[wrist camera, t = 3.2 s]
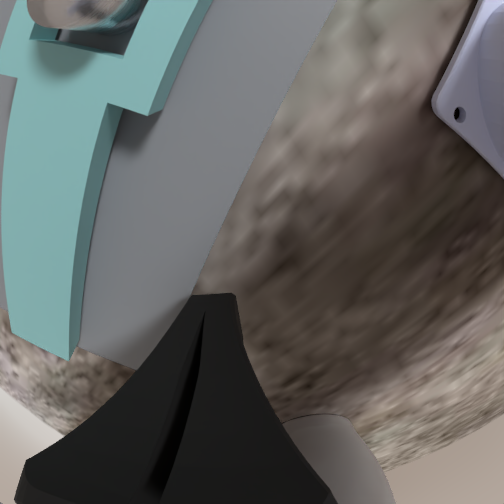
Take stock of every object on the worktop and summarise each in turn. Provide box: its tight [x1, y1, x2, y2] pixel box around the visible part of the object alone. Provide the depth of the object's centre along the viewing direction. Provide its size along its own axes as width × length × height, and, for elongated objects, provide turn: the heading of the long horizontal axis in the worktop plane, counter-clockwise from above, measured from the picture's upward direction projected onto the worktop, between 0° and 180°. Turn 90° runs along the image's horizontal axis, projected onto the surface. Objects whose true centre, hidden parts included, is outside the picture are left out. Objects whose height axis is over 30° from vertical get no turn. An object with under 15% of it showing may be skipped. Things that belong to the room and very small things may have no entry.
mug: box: [282, 414, 396, 504], centre depth 15 cm, size 12×9×10 cm
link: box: [0, 0, 213, 361], centre depth 7 cm, size 14×5×1 cm, turn 155°
